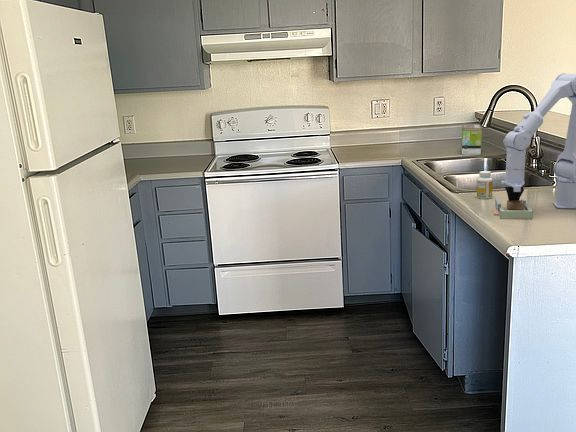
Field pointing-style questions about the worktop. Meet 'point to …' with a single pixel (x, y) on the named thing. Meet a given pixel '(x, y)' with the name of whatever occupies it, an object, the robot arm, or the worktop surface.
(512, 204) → the walnut block
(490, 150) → the worktop surface
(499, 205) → the channel
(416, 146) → the worktop surface
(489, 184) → the supplement bottle
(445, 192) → the worktop surface
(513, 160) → the robot arm
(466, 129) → the tea box
